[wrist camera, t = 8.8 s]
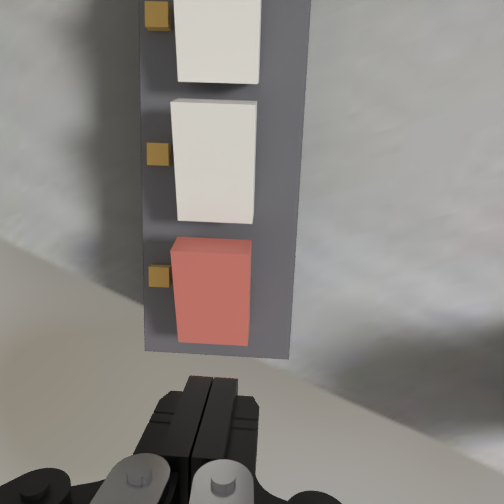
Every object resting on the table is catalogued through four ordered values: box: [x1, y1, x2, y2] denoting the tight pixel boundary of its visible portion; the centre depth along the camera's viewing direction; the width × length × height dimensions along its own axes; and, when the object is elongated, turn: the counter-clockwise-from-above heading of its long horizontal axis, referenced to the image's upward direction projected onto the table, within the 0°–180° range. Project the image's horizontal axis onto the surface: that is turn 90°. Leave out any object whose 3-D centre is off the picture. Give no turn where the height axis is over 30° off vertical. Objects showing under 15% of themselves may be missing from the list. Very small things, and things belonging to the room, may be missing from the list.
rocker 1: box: [174, 0, 261, 84], centre depth 19 cm, size 6×4×2 cm, turn 178°
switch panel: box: [139, 0, 311, 359], centre depth 24 cm, size 24×9×5 cm, turn 178°
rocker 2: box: [170, 98, 257, 224], centre depth 21 cm, size 6×4×2 cm, turn 178°
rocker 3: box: [170, 237, 252, 346], centre depth 22 cm, size 6×4×2 cm, turn 178°
